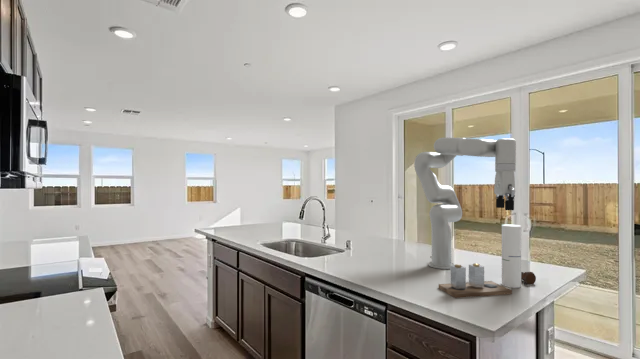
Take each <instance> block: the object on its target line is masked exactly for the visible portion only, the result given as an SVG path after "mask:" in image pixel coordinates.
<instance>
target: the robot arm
mask: <svg viewBox="0 0 640 359" xmlns="http://www.w3.org/2000/svg"><path fill="white" fill-rule="evenodd" d="M433 150H434V151H422V152H420V153H418V154H417V156H416V157H415V158H414V164H413V165H414V170H415V171H414V172H415V173H416V175H417V177H418V180H419V181H420V184H421V187H422V190H423V193H424V195H425V196H424V197H426V200H427V201H428V202H429V203H430V204H434V205H433V206H432V207H430V210H429V219H430V220H429V221H430V225H431V227H430V228H431V255H430V259H431V261H429V262H428V266H429V267H430V268H433V269H437V270H451V266H453V265H455V264H454V263H452V230H451V226H450V225H449V223H455V222H459V221H461V219H462V217H463V209H462V206H461V204H460V201H459V199H458V197H457V194H456V191H455V190H454V189H453V187H452V186H450V185H447V184H441V183H440V182H439V180H438V177H437V175H436V174H435V173H434V171H432V170H431V168H432V169H441V168H444V167H446V166H447V165H448V164H450V162H452V160H454V159H455V158H456V157H457V156H460V157H464V156H465V157H466V156H467V157H477V158H478V157H481V158H482V157H484V158H495V160H494V162H495V164H494V166H495V167H494V170H495V171H494V172H495V176H494V187H493V192H494V193H493V194H495V195H496V196H495V207H496V209H497V208H498V209H504V210H505V211H514V210H515V196H516V195H515V194H516V180H515V173H516V171H517V170H516V163H517V161H516V160H517V158H516V155H517V152H516V151H517V141H516V139H514V138H512V137H511V138H510V137H509V138H506V137H505V138H498V139H497V140H496V139H495V140H494V139H486V138H466V137H439V138H437V139H436V140H435V141H434V143H433ZM504 197H505V198H504Z"/></svg>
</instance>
